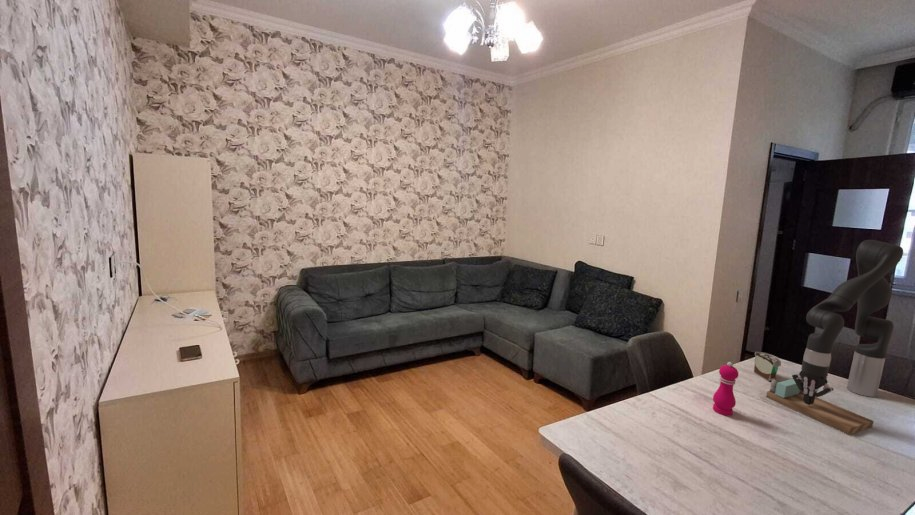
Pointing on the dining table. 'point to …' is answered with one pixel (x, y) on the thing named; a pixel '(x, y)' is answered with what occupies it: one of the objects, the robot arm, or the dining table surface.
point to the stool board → (823, 412)
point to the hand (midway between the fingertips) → (807, 403)
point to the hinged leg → (787, 388)
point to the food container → (766, 365)
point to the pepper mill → (725, 390)
